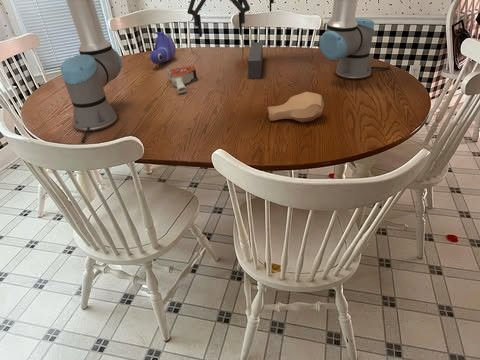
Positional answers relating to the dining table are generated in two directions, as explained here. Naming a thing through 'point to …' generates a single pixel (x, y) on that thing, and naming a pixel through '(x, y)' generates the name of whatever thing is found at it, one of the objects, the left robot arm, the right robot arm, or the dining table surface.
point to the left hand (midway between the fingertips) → (220, 35)
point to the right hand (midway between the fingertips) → (256, 11)
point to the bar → (255, 60)
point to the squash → (298, 108)
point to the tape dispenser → (181, 77)
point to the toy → (162, 49)
